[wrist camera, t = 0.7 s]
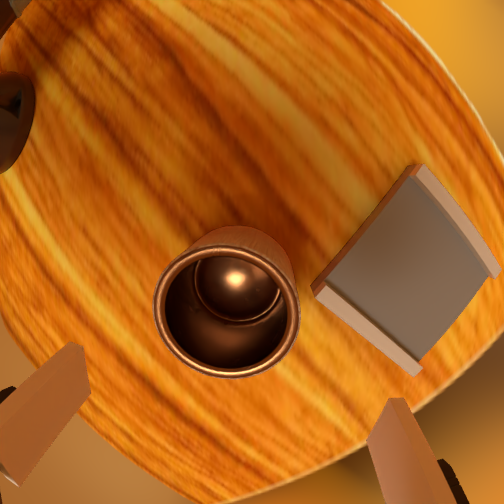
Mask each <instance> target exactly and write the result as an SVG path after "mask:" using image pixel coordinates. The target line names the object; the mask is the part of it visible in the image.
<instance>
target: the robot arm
mask: <svg viewBox="0 0 504 504" xmlns="http://www.w3.org/2000/svg"><path fill="white" fill-rule="evenodd" d="M30 2H31V0H0V39H1V38H2V37H3V35H4V34H5V33H6V31H7V30H8V29H9V27H10V26H11V25H12V24H13V22H14V21H15V20H16V19H17V17H18V18H19V17H20V16H21V14H22V11H23V10H24V9H25V8H26V6H27V5H28V4H29V3H30ZM34 101H35V98H34V89H33V85H32V83H31V81H30V79H29V78H28V77H27V76H25V75H22V74H19V73H16V72H2V73H0V174H1V173H3V172H5V171H6V170H7V169H8V168H9V167H10V166H11V165H12V164H13V163H14V162H15V160H16V159H17V157H18V156H19V154H20V152H21V150H22V148H23V146H24V144H25V141H26V139H27V136H28V133H29V130H30V127H31V123H32V118H33V113H34ZM90 394H91V390H90V385H89V380H88V374H87V368H86V362H85V355H84V348H83V346H81V345H78V344H75V343H73V342H68V343H67V344H66V345H65V346H64V347H63V348H62V349H60V350H59V351H58V352H57V353H56V354H55V355H53V356H52V357H51V358H50V359H49V360H48V361H47V362H46V363H44V364H43V365H42V366H41V367H40V368H39V369H38V370H37V371H35V372H34V373H33V374H32V375H31V376H30V377H29V378H28V379H27V380H26V381H24V382H23V383H22V384H21V385H20V386H19V387H18V388H15V387H13V386H11V387H8V388H6V389H4V390H2V391H0V471H1V472H2V473H3V475H4V476H5V477H6V478H7V479H8V480H10V481H11V482H13V483H14V484H15V485H17V486H18V487H21V485H22V484H23V482H24V481H25V480H26V478H27V477H28V475H29V474H30V473H31V471H32V470H33V468H34V467H35V466H36V464H37V463H38V462H39V460H40V459H41V458H42V456H43V455H44V453H45V452H46V451H47V450H48V448H49V447H50V446H51V444H52V443H53V442H54V440H55V439H56V438H57V436H58V435H59V434H60V432H61V431H62V430H63V428H64V427H65V426H66V424H67V423H68V422H69V421H70V419H71V418H72V417H73V416H74V414H75V413H76V412H77V410H78V409H79V408H80V407H81V405H82V404H83V403H84V401H85V400H86V399H87V398H88V396H89V395H90ZM366 441H367V444H368V447H369V450H370V454H371V457H372V459H373V463H374V466H375V470H376V473H377V476H378V479H379V483H380V486H381V490H382V493H383V496H384V500H385V504H469V501H468V500H467V497H466V495H465V494H464V491H463V489H462V487H461V485H459V481H458V479H457V478H456V475H455V473H454V471H453V469H452V467H451V466H450V465H449V464H448V463H447V462H446V461H445V460H444V459H440V460H436V458H435V456H434V454H433V452H432V450H431V448H430V446H429V444H428V442H427V440H426V439H425V437H424V435H423V433H422V431H421V429H420V427H419V425H418V423H417V421H416V420H415V418H414V416H413V414H412V412H411V410H410V408H409V407H408V405H407V403H406V401H405V399H404V398H389V399H388V401H387V403H386V405H385V407H384V409H383V411H382V413H381V415H380V416H379V418H378V420H377V422H376V424H375V426H374V427H373V429H372V431H371V433H370V434H369V436H368V438H367V440H366ZM0 504H2V499H1V493H0Z"/></svg>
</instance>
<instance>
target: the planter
mask: <svg viewBox="0 0 504 504" xmlns="http://www.w3.org/2000/svg"><path fill="white" fill-rule="evenodd" d="M153 317H154V322H155V325H156V328H157V331H158V333H159V335H160V337H161V339H162V341H163V342H164V344H165V345H166V347H167V348H168V349H169V350H170V352H171V353H172V354H173V355H174V356H175V357H176V358H177V359H178V360H180V361H181V362H182V363H184V364H185V365H187V366H188V367H190V368H191V369H193V370H195V371H197V372H200V373H202V374H205V375H208V376H211V377H216V378H222V379H241V378H247V377H252V376H255V375H258V374H261V373H263V372H265V371H267V370H269V369H270V368H272V367H274V366H275V365H276V364H278V363H279V362H280V361H281V360H282V359H283V358H284V357H285V356H286V355H287V354H288V352H289V351H290V349H291V348H292V346H293V344H294V342H295V340H296V338H297V335H298V332H299V328H300V320H301V311H300V303H299V298H298V294H297V289H296V284H295V278H294V273H293V269H292V265H291V262H290V260H289V258H288V256H287V254H286V252H285V251H284V249H283V248H282V247H281V245H280V244H279V243H278V242H277V241H276V240H274V239H273V238H272V237H271V236H269V235H268V234H266V233H264V232H262V231H260V230H258V229H255V228H252V227H247V226H240V225H233V226H225V227H221V228H218V229H215V230H213V231H211V232H209V233H207V234H205V235H204V236H203V237H201V238H200V239H199V240H198V241H196V242H195V243H194V244H193V245H191V246H190V247H189V248H188V249H187V250H185V251H184V252H183V253H181V254H180V255H179V256H177V257H176V258H175V259H174V260H173V261H172V262H171V263H170V264H169V265H168V266H167V267H166V268H165V270H164V271H163V273H162V274H161V276H160V278H159V280H158V282H157V284H156V287H155V291H154V295H153Z"/></svg>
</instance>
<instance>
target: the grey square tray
mask: <svg viewBox="0 0 504 504" xmlns="http://www.w3.org/2000/svg"><path fill="white" fill-rule="evenodd" d="M501 270H502V269H501V267H500V265H499V264H498V262H497V260H496V259H495V257H494V256H493V254H492V252H491V251H490V249H489V248H488V246H487V245H486V243H485V242H484V240H483V239H482V237H481V236H480V234H479V233H478V231H477V230H476V228H475V227H474V225H473V224H472V223H471V221H470V220H469V219H468V217H467V216H466V214H465V213H464V212H463V210H462V209H461V208H460V206H459V205H458V204H457V203H456V201H455V200H454V199H453V197H452V196H451V195H450V194H449V192H448V191H447V190H446V189H445V188H444V186H443V185H442V184H441V183H440V182H439V180H438V179H437V178H436V177H435V176H434V175H433V173H432V172H431V171H430V170H429V169H428V168H427V167H426V166H425V164H417V165H409V166H408V167H407V168H406V169H405V171H404V172H403V173H402V175H401V176H400V177H399V179H398V180H397V181H396V183H395V184H394V185H393V187H392V188H391V189H390V191H389V192H388V193H387V194H386V196H385V197H384V198H383V200H382V201H381V202H380V203H379V205H378V206H377V207H376V208H375V210H374V211H373V212H372V213H371V215H370V216H369V217H368V218H367V220H366V221H365V222H364V223H363V225H362V226H361V227H360V228H359V229H358V231H357V232H356V233H355V234H354V236H353V237H352V238H351V239H350V240H349V242H348V243H347V244H346V245H345V246H344V247H343V249H342V250H341V251H340V252H339V253H338V255H337V256H336V257H335V258H334V259H333V260H332V262H331V263H330V264H329V265H328V266H327V267H326V268H325V270H324V271H323V272H322V273H321V274H320V275H319V276H318V278H317V279H316V280H315V281H314V282H313V283H312V284H311V289H312V291H313V294H314V297H315V298H316V299H317V300H318V301H320V302H321V303H322V304H323V305H325V306H326V307H327V308H328V309H329V310H331V311H332V312H333V313H334V314H336V315H337V316H338V317H339V318H341V319H342V320H343V321H344V322H346V323H347V324H348V325H349V326H351V327H352V328H353V329H354V330H356V331H357V332H358V333H359V334H361V335H362V336H363V337H364V338H365V339H367V340H368V341H369V342H370V343H372V344H373V345H374V346H375V347H377V348H378V349H379V350H380V351H382V352H383V353H384V354H385V355H387V356H388V357H389V358H390V359H391V360H393V361H394V362H395V363H396V364H398V365H399V366H400V367H401V368H403V369H404V370H405V371H406V372H408V373H409V374H410V375H411V376H412V377H415V376H416V375H417V374H418V373H419V372H420V371H421V370H422V369H423V367H422V366H421V365H420V363H419V361H420V360H421V359H422V357H423V356H424V355H425V354H426V353H427V352H428V351H429V350H430V349H431V348H432V347H433V346H434V345H435V343H436V342H437V341H438V340H439V339H440V338H441V337H442V336H443V334H444V333H445V332H446V331H447V330H448V329H449V327H450V326H451V325H452V324H453V323H454V321H455V320H456V319H457V318H458V316H459V315H460V314H461V313H462V311H463V310H464V309H465V307H466V306H467V305H468V304H469V302H470V301H471V300H472V298H473V297H474V296H475V294H476V293H477V291H478V290H479V289H480V287H481V286H482V284H483V283H484V282H485V280H486V279H487V277H488V276H489V277H491V278H493V279H496V277H497V276H498V274H499V273H500V271H501Z"/></svg>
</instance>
